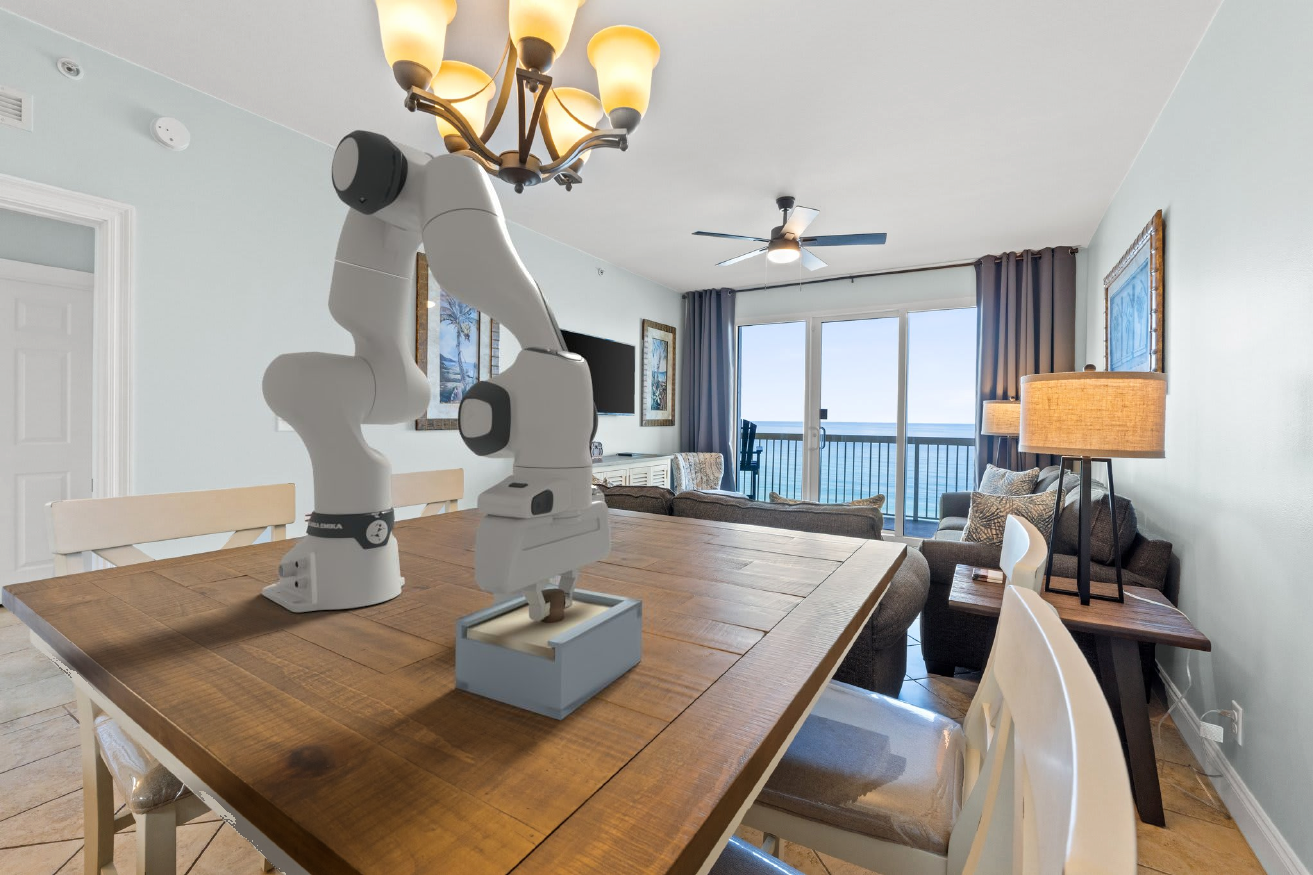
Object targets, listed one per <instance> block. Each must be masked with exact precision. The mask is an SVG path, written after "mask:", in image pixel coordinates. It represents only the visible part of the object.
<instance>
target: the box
mask: <svg viewBox="0 0 1313 875" xmlns="http://www.w3.org/2000/svg"><path fill="white" fill-rule="evenodd" d="M545 589H558V585H553V584H548V585H545ZM545 589H544V590H545ZM572 599H573V600H578V601H583V602H589V603H594V604H599V605H605V606H610V607H612V608H610V609H608V610H606V611H604V612H602V613H600V614H598V615H596V616H594V617H592V618H590V619H589V620H587V621H585V622H583V623H581V624H579V625H577V626H575V627H573V628H571V629H569V630H567V631H565V632H563V633H561V634H559V635H557V636H556V637H554V638H552V639H550V640H548V646H551V647H555V659H550V658H546V657H542V656H538V655H534V654H530V653H526V652H522V651H518V650H514V649H510V648H506V647H502V646H498V645H494V644H490V643H486V642H482V641H478V640H474V639H470V638H467V628H469V627H472V626H474V625H477V624H479V623H481V622H484V621H486V620H489V619H491V618H494V617H496V616H499V615H501V614H504V613H506V612H509V611H511V610H514V609H516V608H519V607H521V606H523V605H526V604H528V602H527V600H526V598H525V596H524V594H522V595H519V596H516V597H514V598H511V599H508V600H506V601H503V602H500V603H498V604H495V605H494V604H493V605H490V606H488V607H485V608H482V609H480V610H477V611H474V612H471V613H468V614H466V615H462V616H461V617H458V618H456V619H455V671H454V672H455V676H454V678H455V680H454V681H455V682H454V685H455V686H454V687H455V689H458V690H462V691H466V692H469V693H471V694H475V695H478V696H480V697H484V698H488V699H491V700H493V701H498V702H500V703H504V704H507V705H510V706H513V707H516V708H519V709H523V710H527V711H529V712H533V713H536V714H538V715H539V714H540V715H543V716H545V717H549V718H552V719H556V720H559V721H562V720H563V719H565V718H566V717H567V716H568V715H570V714H571V713H572V712H574V711H575V710H577V709H578V708H580V707H581V706H582V705H584V704H585V703H586V702H588V701H589V700H590V699H592V698H593V697H594V696H596V695H597V694H599V693H600V692H601V691H602V690H604V689H605V688H607V687H608V686H609V685H611V684H612V683H614V681H616V680H617V679H618V678H621V677H622V676H623V675H624V674H626V673H627V672H628V671H629V670H631V669H633V667H635V666H637V665H638V664H639V663H640V662H642V644H643V643H642V641H643V640H642V636H643V632H642V631H643V600H642V599H638V598H630V597H627V596H620V595H615V594H609V593H603V592H597V591H593V590H586V589H580V588H576V587H575V589H574V591H573V596H572Z"/></svg>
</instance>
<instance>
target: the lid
mask: <svg viewBox="0 0 1313 875" xmlns="http://www.w3.org/2000/svg"><path fill="white" fill-rule="evenodd" d="M541 592H542V595H543V598H544V600H545V601H547V602H550V609H549V611H550V615H549V617H547V618H545V619H543V620H541V621H536V620H531V619H530V618H529V603H528V604H526V605H523V606H521V607H519V608H516V609H514V610H511V611H509V612H506V613H504V614H501V615H499V616H496V617H494V618H491V619H489V620H486V621H484V622H481V623H479V624H477V625H474V626H472V627H469V628H467V638H470V639H474V640H478V641H482V642H486V643H490V644H494V645H498V646H502V647H506V648H510V649H514V650H518V651H522V652H526V653H530V654H534V655H538V656H542V657H546V658H550V659H555V647H551V646H548V640H550V639H552V638H554V637H556V636H557V635H559V634H561V633H563V632H565V631H567V630H569V629H571V628H573V627H575V626H577V625H579V624H581V623H583V622H585V621H587V620H589V619H590V618H592V617H594V616H596V615H598V614H600V613H602V612H604V611H606V610H608V609H610V608H612V607H610V606H605V605H599V604H594V603H589V602H583V601H578V600H573V599H572V606H571V607H569V608H567V609H564V591H563V590H561V589H545V590H541Z"/></svg>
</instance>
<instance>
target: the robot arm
mask: <svg viewBox="0 0 1313 875" xmlns="http://www.w3.org/2000/svg"><path fill="white" fill-rule="evenodd" d="M331 183H332V185H333V188H334V190H335V193H336V195H337V197H338V198H339V199H340V201H341V202H342V203H344V204H346V205H347V206H349V210H348V211H347V214H346V216H345V218H344V219H345V220H344V222H343V225H342V228H341V232H340V235H339V238H338V242H337V247H336V253H335V256H334V257H335V258H334V264H333V270H332V276H331V282H330V283H331V284H330V289H329V294H328V302H327V306H328V310H329V312H330V315H331V317H332V318H333V320H334V321H335V322H336V324H338V325H339V326H341V327H342V328H343V329H345V330H346V331H347V332H349V333H350V334H351V336H352V339H353V341H354V355H346V354H340V353H339V354H337V353H330V352H321V351H302V352H291V353H281V354H279V355H278V356H277V357H275V358H274V359H273V360H272V361H271V362H270V363H269V364H268V366H267V368H266V369H265V371H264V374H263V377H262V379H261V380H262V381H261V388H262V389H261V390H262V394H263V395H262V396H263V398H264V400H265V403H266V405H267V406H268V408H269V409H270V410H271V411H272V412H273V414H275V416H277V417H279V418H280V419H282V420H283V421H284V422H286V424H288V425H289V426H291V428H292V429H293V430H294V431H295V432H296V434H297V435H298V436H299V438H300V439H301V441H302V442H303V443H304V446H305V447H306V450H307V452H308V455H309V458H310V462H311V466H312V476H313V478H312V479H313V494H314V495H313V497H314V498H313V499H314V503H313V504H314V506H313V507H314V510H313V511H312V512H311V513H308V514H305V515H304V516H305V517H309V518H308V519H304V522H308V523H307V528H306V532H305V533H306V534H307V535H305V536H304V537H303V538H302V539H301V540H300V541H299V542H298V543H297V544H296V545H295V546H293V547H292V549H290V550H289V551H287V552H286V554H284V555H283V557H282V558H281V561H280V564H279V565H278V568H277V570H278V571H277V572H278V575H279V581H278V582H275V583H272V584H270V585H267V586H264V587H263V588H262V590H261V595H262V596H264V597H265V598H268V599H269V600H271V601H273V602H275V603H276V604H278V605H280V606H282V607H284V608H285V609H287V610H289V611H290V612H293V613H304V612H313V611H323V610H324V611H325V610H345V609H355V608H361V607H365V606H371V605H376V604H379V603H383V602H386V601H389V600H391V599H394V598H396V597H398V596H399V595H401V593H402V587H403V586H404V585H405V583H406V581H405V579H406V578H405V577H404V576H401V570H400V569H401V568H400V558H399V556H400V555H399V547H398V540H397V538H396V537H395V536H394V534H393V532H392V531H393V530H394V529H395V521H396V515H395V509H394V508H393V507H392V476H393V475H392V474H393V473H392V472H393V470H392V468H393V467H392V465H391V462H390V460H389V459H388V457H387V456H386V455H384V454H383V452H380V451H379V450H377V449H375V448H373V447H371V446H370V445H369V444H368V443H367V441H366V439H365V438H364V435H363V432H362V427H361V425H378V426H379V425H380V426H381V425H383V426H384V425H385V426H386V425H398V424H402V423H408V422H412V421H416V420H418V419H420V418H422V417H423V416H424V414H425V413H426V412H427V410H428V408H429V405H430V403H431V400H432V388H431V384H430V381H429V379H428V377H427V376H426V373H424V372H423V370H421V368H420V367H419V366H418V364H417V363H416V362H415V360H414V358H413V355H412V352H411V350H410V349H411V348H410V345H409V341H408V333H407V321H408V320H407V319H408V312H409V304H410V298H411V293H412V292H411V291H412V284H413V279H414V275H415V266H416V257H417V252H418V249H419V247H420V245H423V251H424V256H425V258H426V262H427V265H428V268H429V270H430V273H431V274H432V276H433V279H435V282H436V283H437V284H438V286H440V288H441V289H442V290H443V291H444V292H446V293H447V295H449V296H450V297H451V298H453V299H455V300H456V301H458V302H460V303H462V304H464V305H466V306H468V307H470V308H473V309H475V310H477V311H479V312H480V313H482V314H484V315H486V316H488V317H489V318H491V319H493V320H495V321H496V322H497V323H499V324H500V325H502V326H503V327H504V328H505V329H506V330H508V331H509V332H510V333H511V334H512V335H513V336H514V337H515V339H516V340H517V342H518V343H519V345H520V348H521V350H520V351H519V352H518V354H517V356H516V359H515V360H514V362H513V363H512V365H510V366H509V367H507V368H506V369H505V370H503V371H502V372H500V373H499V374H497V375H495V376H493V377H491V378H488V379H485V380H479V381H477V382H476V383H474V384H472V386H470V387H469V389H467V390H466V392H465V393H464V394H463V396H462V397H461V400H460V402H459V406H458V412H457V427H458V432H459V435H460V437H461V439H462V441H463V443H464V444H465V445H466V447H467V448H468V449H469V450H470V451H471V452H472V453H473V454H475V455H476V456H478V457H483V458H487V459H488V458H489V459H513V463H512V475H509V476H507V477H506V478H504V479H503V480H501V481H500V482H498V483H497V484H495V485H493V486H491V487H490V488H488V489H485V490H484V491H483V492H481V493H480V494H478V497H477V505H476V506H477V511H478V512H479V514H484V515H485V516H483V517H482V518H481V519H480V521H479V523H478V526H477V528H476V533H475V534H476V535H475V542H474V543H475V545H474V546H475V547H474V579H475V582H476V584H477V585H478V587H479V589H480V590H482V591H483V592H487V593H492V594H494V593H497V594H508V593H511V592H514V591H516V590H519V589H521V590H522V592H523V594H524V596H525V598H526V600H527V602H528V603H529V618H530V619H531V620H536V621H541V620H543V619H545V618H547V617H549V615H550V611H549V609H550V602H547V601H545V600H544V598H543V595H542V592H541V590H544V589H545V580H547V579H549V578H552V577H555V576H561V578H560V581H559V585H558V589H561V590H563V591H564V609H567V608H569V607H571V606H572V596H573V591H574V589H575V588H576V586H577V583H578V580H579V578H580V568H582V567H585V566H587V565H590V564H593V563H596V562H598V561H602V560H604V559H607V558H608V556H609V555H610V552H611V549H612V532H611V531H612V530H611V521H610V520H611V518H610V512H609V507H608V505H607V503H606V502H605V500H606V498H605V494H604V493H603V491H602V490H601V489H600V487H599V486H598V485H594V484H593V458H592V456H591V452H590V451H591V450H590V446H591V444H592V443H593V441H594V440H595V437H596V435H597V432H598V426H599V413H598V410H597V406H596V403H595V402H594V391H593V383H592V376H591V375H592V374H591V371H590V367H589V365H588V362H587V359H585V358H584V357H582V356H581V355H580V354H578V353H576V352H572V351H569V349H568V347H567V344H566V342H565V340H564V337H563V334H562V332H561V330H560V327H559V324H558V322H557V319H556V317H555V314H554V312H553V310H552V306H551V305H550V303H549V300H548V299H547V297H546V294H545V293H544V290H543V289H542V288H541V287H540V285H539V284H538V283H537V281H536V280H535V279H534V278H533V276H532V275H531V273H529V271H528V269H527V268H526V266H525V265H524V263H523V261H522V259H521V257H520V255H519V253H518V252H517V250H516V248H515V246H514V243H513V241H512V238H511V235H510V232H509V227H508V224H507V220H506V217H505V213H504V210H503V207H502V204H501V201H500V199H499V196H498V194H497V192H496V190H495V187H494V185H493V182H492V181H491V179H490V176H489V174H488V173H487V171H486V170H485V169H484V168H483V166H482V165H481V164H480V163H479V162H477V161H476V160H475V159H473V158H471V157H469V156H466V155H463V154H459V153H444V154H440V155H437V156H435V155H433V154H431V153H429V152H423V151H421V150H418V149H416V148H415V147H411V146H409V145H406V144H403V143H400V142H398V141H393V140H391V139H389V138H388V137H387V136H386V135H384V134H380V133H376V132H372V131H367V130H361V129H357V130H354V131H351V132H350V133H348V134H346V135H345V136H344V137H343V138H342V139H341V140H340V141H339V143H338V145H337V147H336V149H335V152H334V155H333V158H332V164H331Z"/></svg>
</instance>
